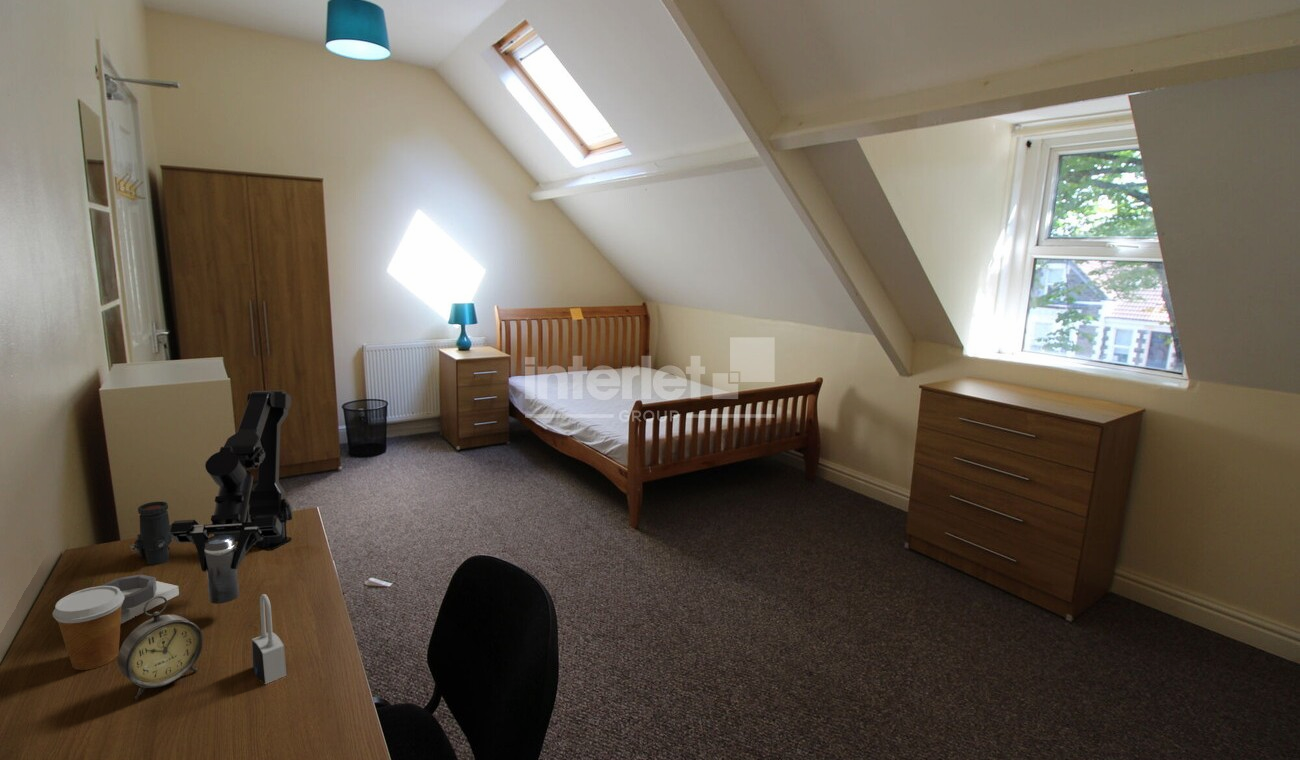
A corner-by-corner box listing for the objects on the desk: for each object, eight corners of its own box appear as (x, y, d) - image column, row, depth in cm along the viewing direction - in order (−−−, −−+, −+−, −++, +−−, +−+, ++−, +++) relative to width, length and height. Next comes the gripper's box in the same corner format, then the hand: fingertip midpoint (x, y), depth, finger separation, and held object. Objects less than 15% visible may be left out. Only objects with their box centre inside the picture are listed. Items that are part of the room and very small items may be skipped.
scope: (166, 494, 152) (180, 505, 146) (171, 547, 154) (185, 560, 148) (123, 503, 145) (136, 515, 139) (129, 558, 148) (142, 572, 142)
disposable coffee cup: (81, 682, 106) (73, 618, 104) (47, 667, 109) (38, 604, 107) (142, 651, 115) (136, 591, 113) (109, 638, 118) (102, 579, 116)
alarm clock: (131, 707, 101) (121, 616, 98) (117, 694, 104) (107, 605, 101) (207, 672, 110) (200, 588, 107) (193, 661, 113) (185, 578, 110)
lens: (225, 588, 129) (221, 531, 127) (245, 592, 128) (241, 535, 126) (202, 601, 124) (197, 542, 122) (223, 606, 123) (218, 546, 121)
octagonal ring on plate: (143, 586, 136) (141, 567, 135) (179, 594, 134) (177, 575, 133) (70, 620, 123) (67, 599, 122) (108, 630, 121) (106, 608, 120)
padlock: (249, 668, 112) (244, 592, 109) (275, 658, 115) (271, 583, 112) (262, 686, 108) (257, 607, 105) (289, 675, 111) (284, 598, 108)
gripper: (291, 508, 141) (281, 577, 133) (194, 514, 135) (178, 586, 127) (280, 488, 132) (269, 560, 124) (176, 493, 127) (157, 569, 118)
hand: (219, 570), depth 124 cm, fingers closed on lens, 5 cm apart
